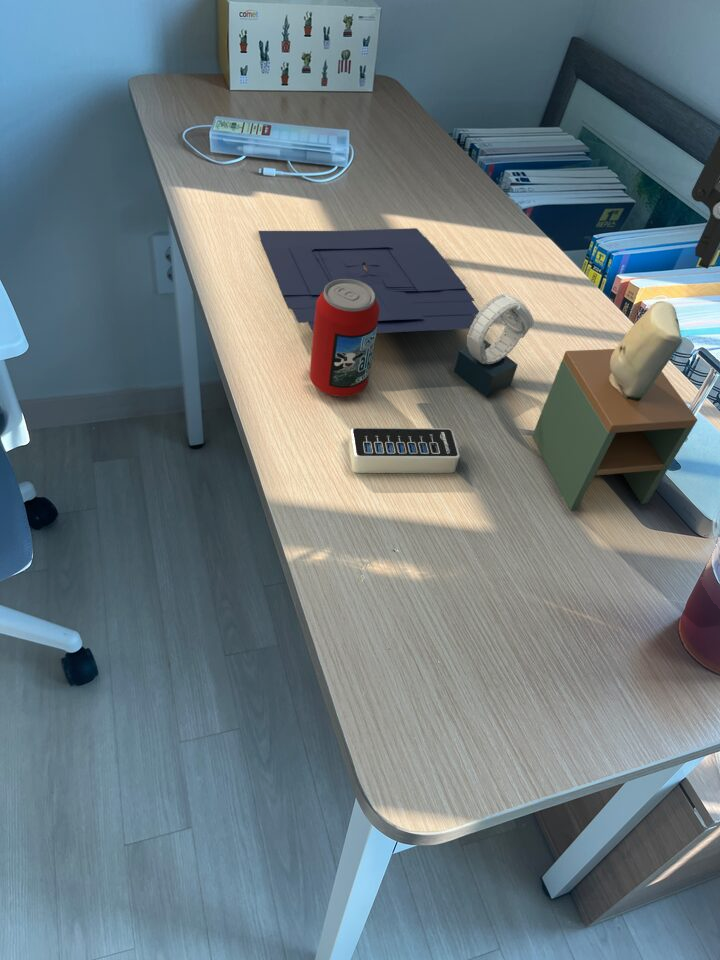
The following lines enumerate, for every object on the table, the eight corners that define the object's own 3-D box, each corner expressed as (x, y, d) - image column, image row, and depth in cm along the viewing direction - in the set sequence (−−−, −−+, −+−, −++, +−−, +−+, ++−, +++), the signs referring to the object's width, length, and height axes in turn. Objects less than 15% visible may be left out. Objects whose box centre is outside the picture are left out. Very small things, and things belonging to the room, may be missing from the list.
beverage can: (346, 410, 84) (359, 320, 75) (297, 384, 86) (304, 294, 77) (378, 380, 88) (393, 292, 79) (330, 356, 90) (340, 267, 81)
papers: (297, 358, 87) (298, 330, 84) (256, 249, 108) (256, 224, 106) (492, 347, 93) (498, 320, 90) (416, 245, 114) (419, 222, 112)
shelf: (647, 503, 80) (698, 419, 71) (570, 510, 78) (612, 425, 69) (603, 431, 87) (644, 347, 78) (531, 436, 85) (565, 350, 76)
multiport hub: (348, 442, 80) (350, 426, 79) (447, 443, 82) (452, 427, 81) (352, 473, 77) (355, 457, 76) (455, 473, 79) (460, 457, 78)
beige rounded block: (670, 398, 73) (708, 329, 67) (629, 409, 71) (664, 340, 65) (631, 362, 76) (664, 294, 70) (591, 372, 74) (622, 303, 68)
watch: (521, 379, 92) (548, 302, 84) (476, 402, 87) (500, 324, 79) (488, 354, 94) (511, 277, 86) (442, 376, 90) (463, 297, 82)
